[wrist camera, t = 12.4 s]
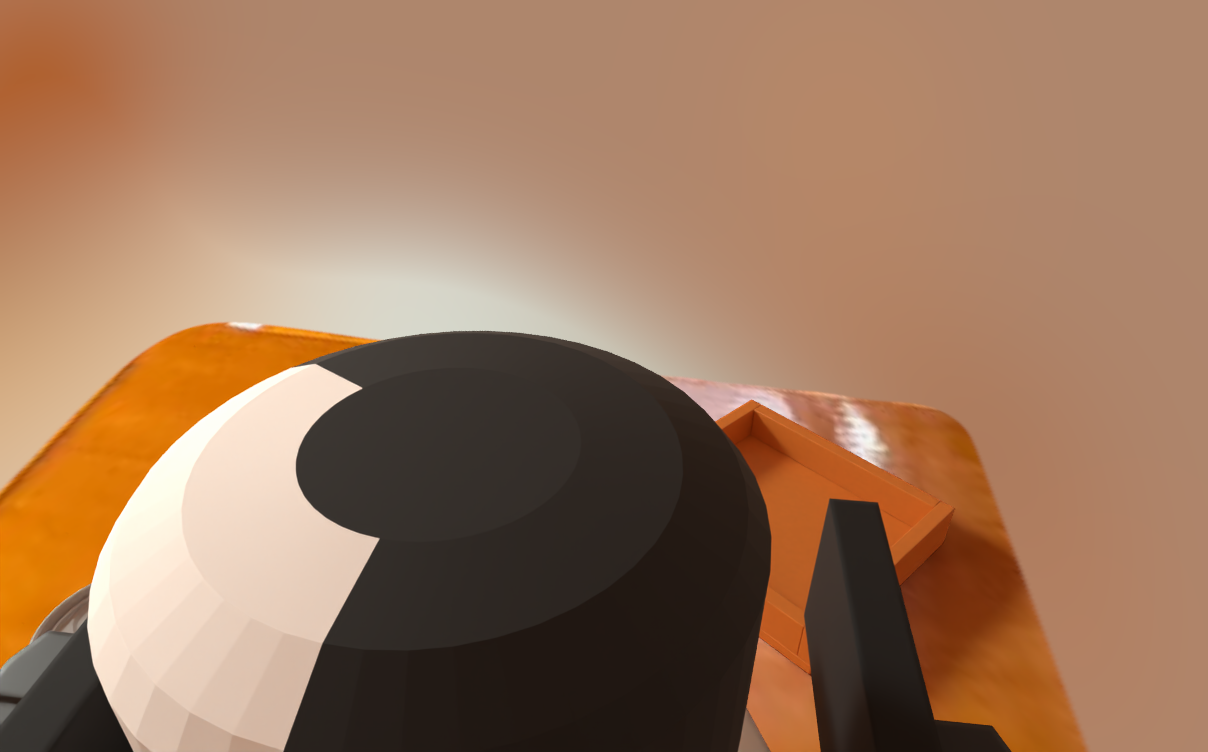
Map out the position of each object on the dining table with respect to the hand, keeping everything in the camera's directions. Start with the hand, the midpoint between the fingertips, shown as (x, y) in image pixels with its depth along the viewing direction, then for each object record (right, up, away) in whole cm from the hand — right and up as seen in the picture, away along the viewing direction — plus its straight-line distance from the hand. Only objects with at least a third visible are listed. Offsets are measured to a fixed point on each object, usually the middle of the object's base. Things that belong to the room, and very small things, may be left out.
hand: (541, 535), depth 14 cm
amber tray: (+10, -6, +31) cm, 33 cm away
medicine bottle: (-1, -8, 0) cm, 8 cm away
